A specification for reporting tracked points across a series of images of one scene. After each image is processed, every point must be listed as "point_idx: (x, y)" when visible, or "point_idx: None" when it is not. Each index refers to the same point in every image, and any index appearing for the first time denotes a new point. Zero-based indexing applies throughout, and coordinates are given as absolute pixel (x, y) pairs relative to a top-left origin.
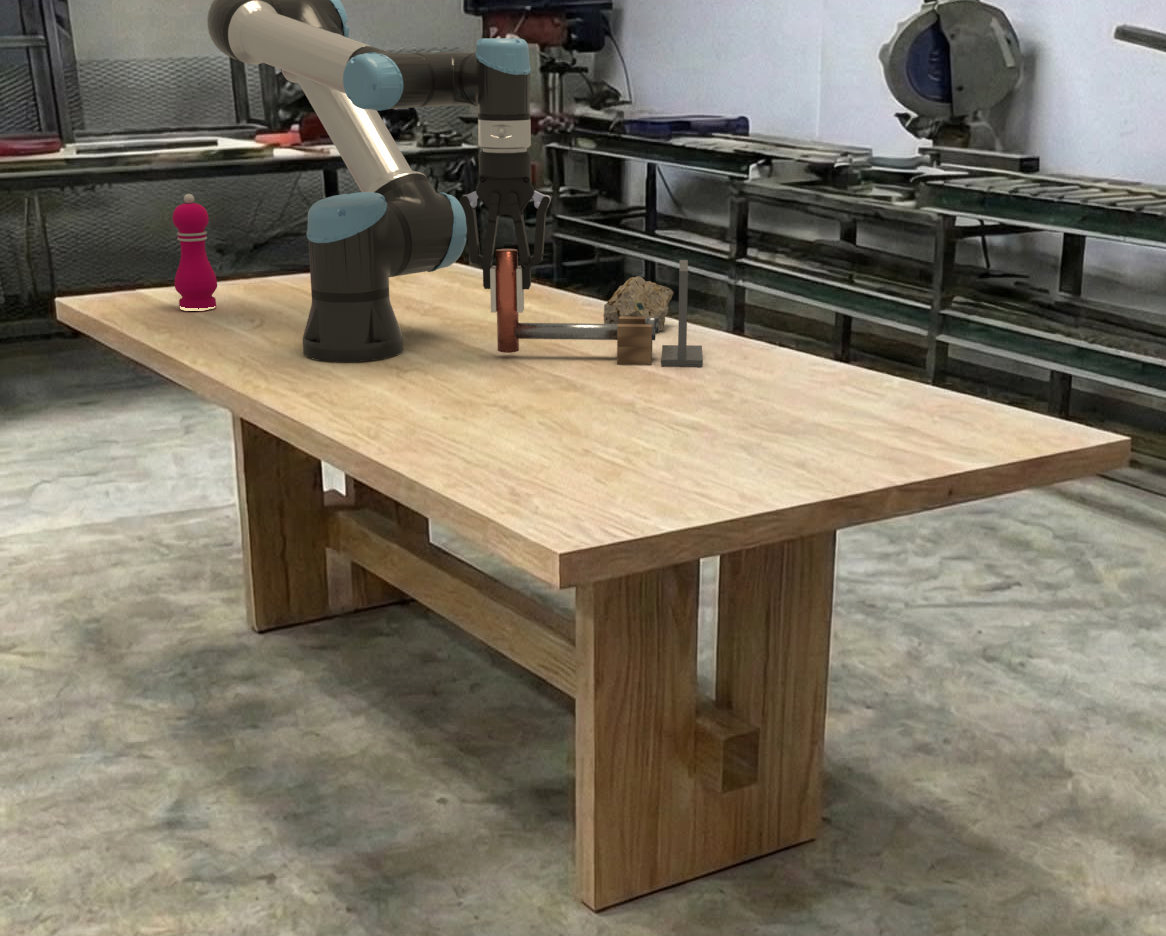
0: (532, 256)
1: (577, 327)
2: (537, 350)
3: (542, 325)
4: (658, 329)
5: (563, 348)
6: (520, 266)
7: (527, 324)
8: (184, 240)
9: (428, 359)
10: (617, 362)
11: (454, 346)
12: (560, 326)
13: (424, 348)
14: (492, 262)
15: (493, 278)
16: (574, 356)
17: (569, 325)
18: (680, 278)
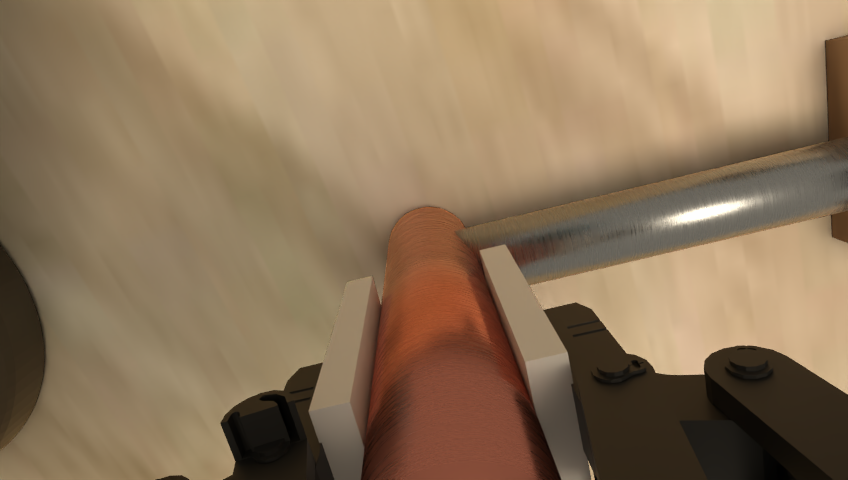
0: (713, 470)
1: (751, 232)
2: (497, 97)
3: (595, 264)
4: None
5: (589, 29)
6: (550, 382)
7: (527, 276)
8: None
9: (175, 349)
10: (839, 239)
11: (152, 125)
12: (675, 246)
13: (62, 194)
14: (295, 405)
15: None
16: (661, 157)
17: (717, 234)
18: None
